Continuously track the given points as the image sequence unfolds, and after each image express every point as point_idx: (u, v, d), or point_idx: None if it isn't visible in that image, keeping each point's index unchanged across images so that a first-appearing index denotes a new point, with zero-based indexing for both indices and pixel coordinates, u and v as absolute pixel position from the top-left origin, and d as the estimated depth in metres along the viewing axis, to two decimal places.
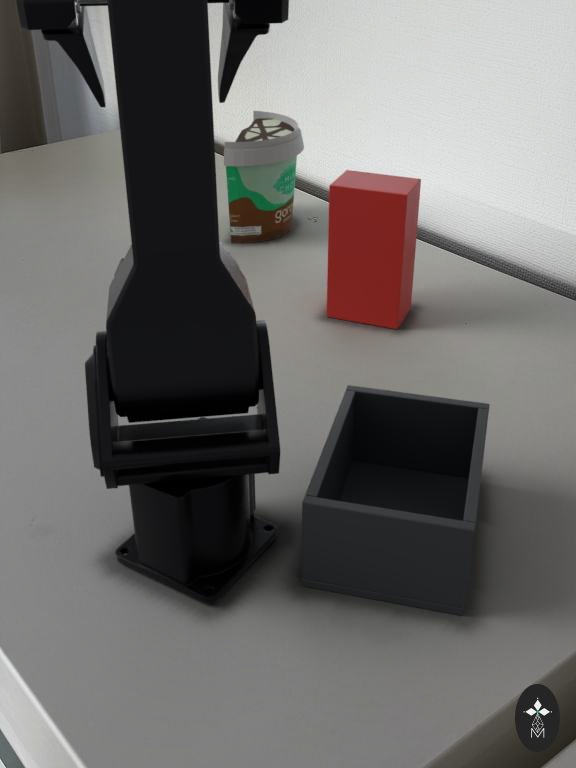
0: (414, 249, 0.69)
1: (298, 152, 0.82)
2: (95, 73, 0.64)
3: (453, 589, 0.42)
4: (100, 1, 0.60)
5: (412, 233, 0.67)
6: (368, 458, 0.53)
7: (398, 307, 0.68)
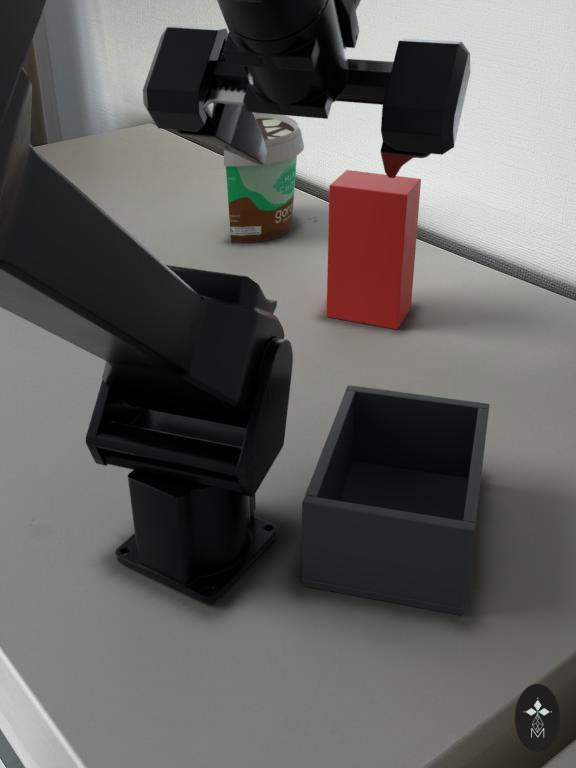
0: (414, 249, 0.69)
1: (298, 152, 0.82)
2: (241, 151, 0.56)
3: (453, 589, 0.42)
4: (234, 103, 0.51)
5: (412, 233, 0.67)
6: (368, 458, 0.53)
7: (398, 307, 0.68)
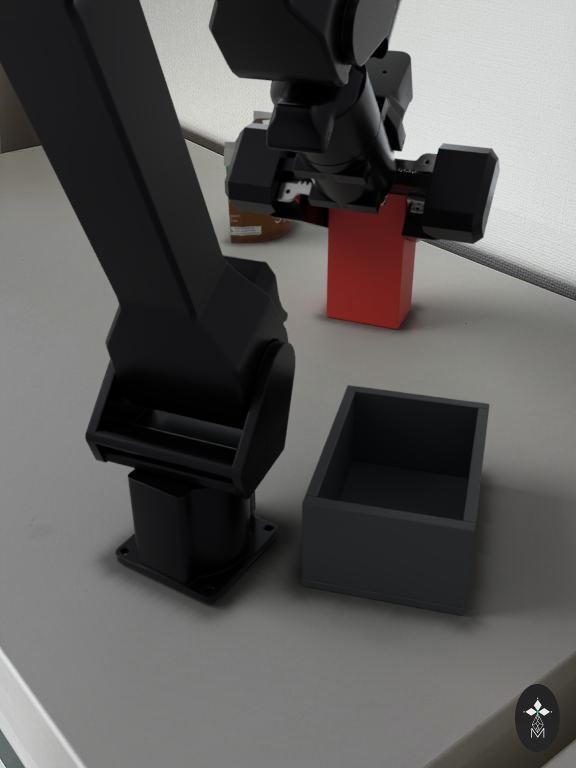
0: (414, 249, 0.69)
1: None
2: (323, 226, 0.66)
3: (453, 589, 0.42)
4: (300, 194, 0.62)
5: None
6: (368, 458, 0.53)
7: (398, 307, 0.68)
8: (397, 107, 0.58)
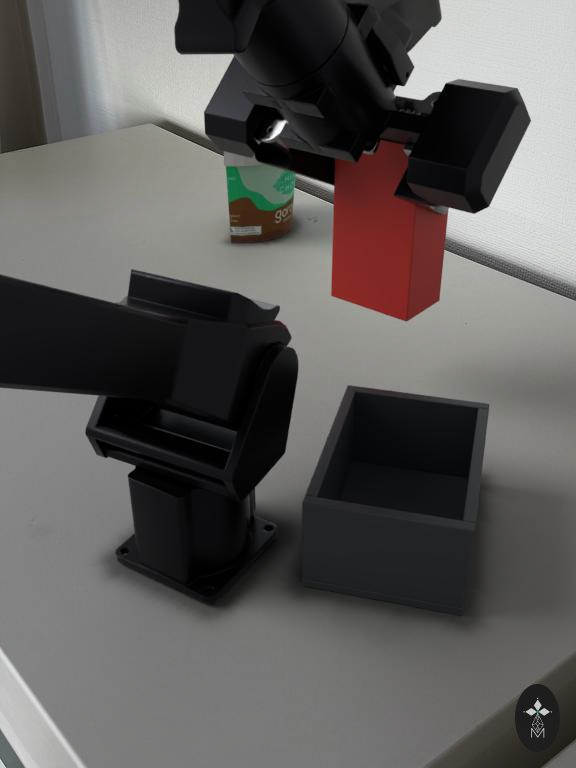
0: (444, 224, 0.54)
1: None
2: (327, 182, 0.54)
3: (453, 589, 0.42)
4: None
5: None
6: (368, 458, 0.53)
7: (408, 293, 0.54)
8: (398, 25, 0.44)
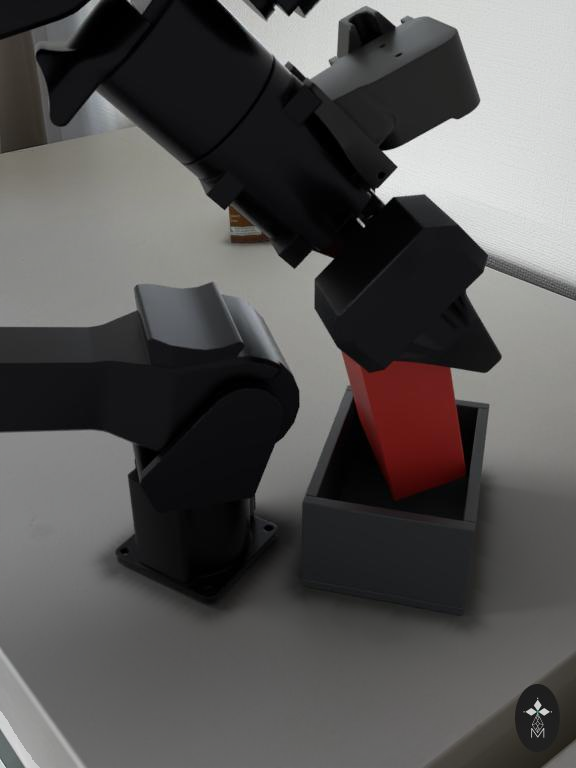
0: (448, 410, 0.41)
1: None
2: None
3: (453, 589, 0.42)
4: None
5: (422, 393, 0.40)
6: (368, 458, 0.53)
7: (388, 478, 0.44)
8: (369, 113, 0.34)
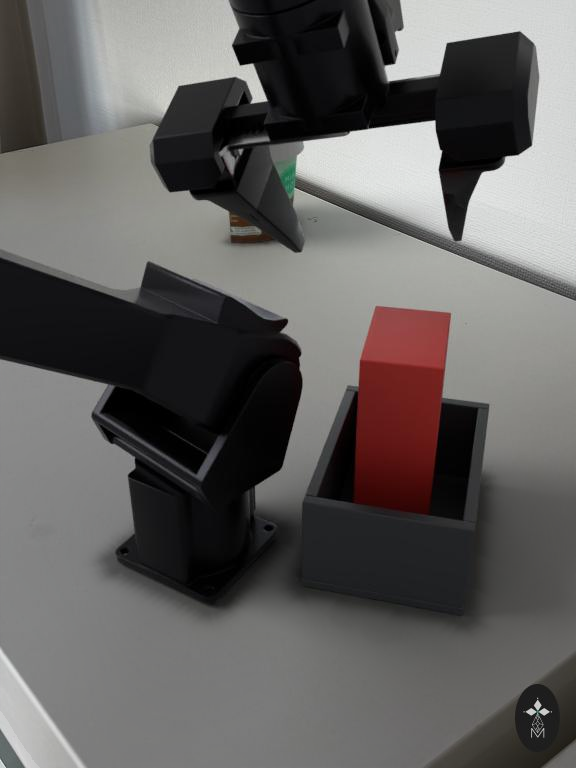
0: (426, 463, 0.44)
1: (298, 152, 0.82)
2: (272, 224, 0.47)
3: (453, 589, 0.42)
4: (255, 145, 0.43)
5: (406, 432, 0.43)
6: None
7: None
8: None
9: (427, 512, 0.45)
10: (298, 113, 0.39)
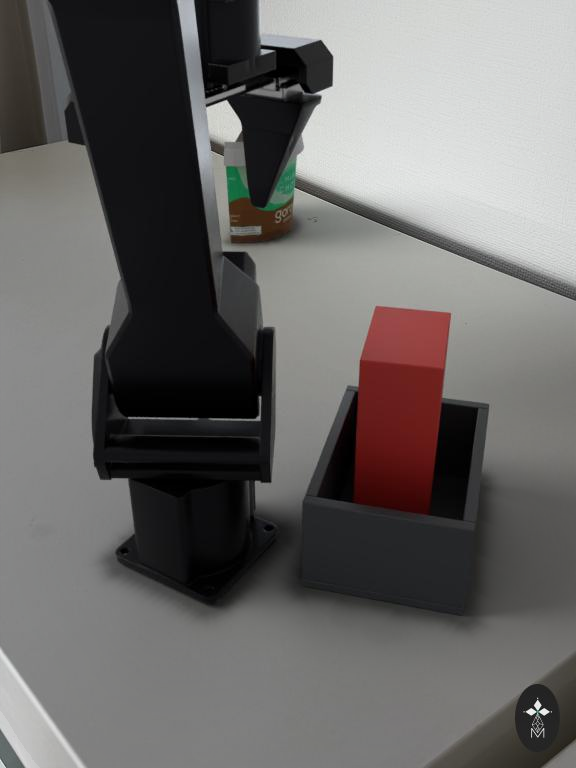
0: (426, 463, 0.44)
1: (298, 152, 0.82)
2: None
3: (453, 589, 0.42)
4: None
5: (406, 432, 0.43)
6: None
7: None
8: None
9: (427, 512, 0.45)
10: (245, 54, 0.47)
